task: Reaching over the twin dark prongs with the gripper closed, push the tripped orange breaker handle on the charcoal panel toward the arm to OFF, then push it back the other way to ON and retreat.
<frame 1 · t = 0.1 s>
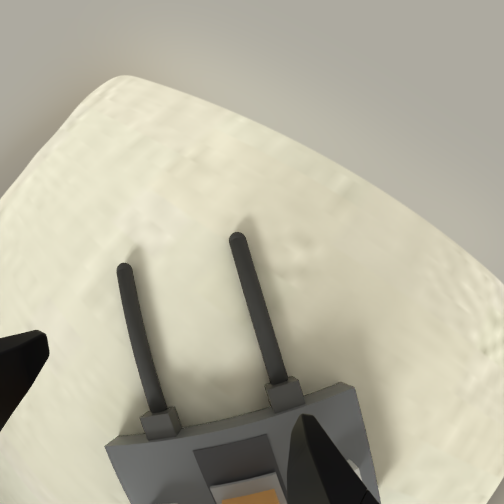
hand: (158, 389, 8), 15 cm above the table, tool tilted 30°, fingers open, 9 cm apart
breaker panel: (250, 484, 19), on the table
twin dark prongs: (201, 339, 23), on the table
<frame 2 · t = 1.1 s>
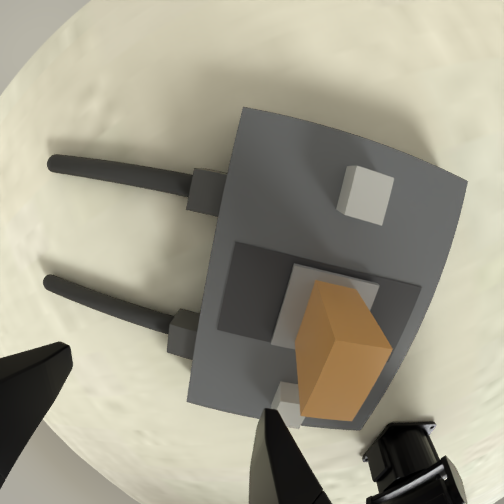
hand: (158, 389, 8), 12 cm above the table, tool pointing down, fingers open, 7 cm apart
breaker handle: (333, 343, 13), point 7 cm above the table, slide at 0.0 cm
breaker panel: (316, 291, 20), on the table
twin dark prongs: (123, 243, 20), on the table
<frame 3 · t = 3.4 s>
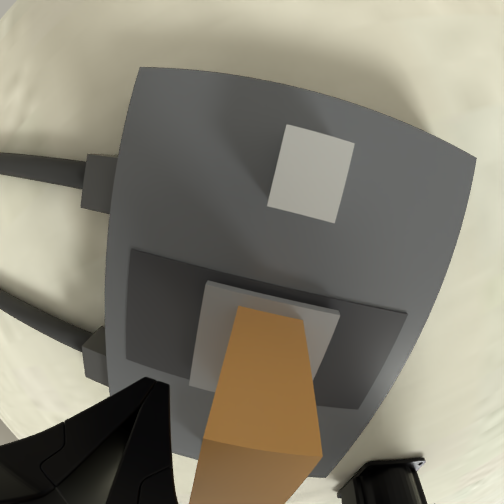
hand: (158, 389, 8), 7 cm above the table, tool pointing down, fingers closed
breaker handle: (253, 406, 8), point 7 cm above the table, slide at -0.1 cm, touching gripper
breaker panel: (261, 312, 15), on the table
twin dark prongs: (40, 248, 15), on the table
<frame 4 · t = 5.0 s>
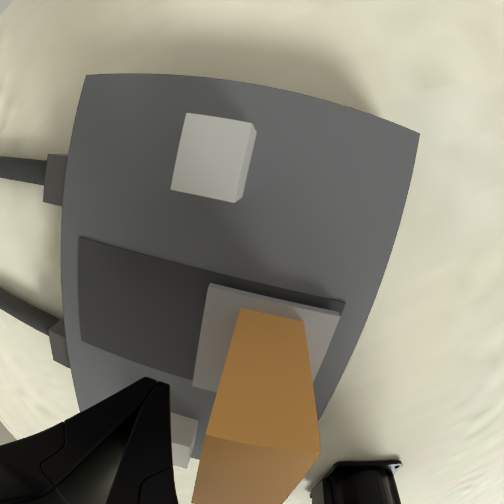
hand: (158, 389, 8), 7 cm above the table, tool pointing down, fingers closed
breaker handle: (254, 405, 8), point 7 cm above the table, slide at -3.0 cm
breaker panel: (206, 300, 15), on the table
twin dark prongs: (18, 241, 15), on the table
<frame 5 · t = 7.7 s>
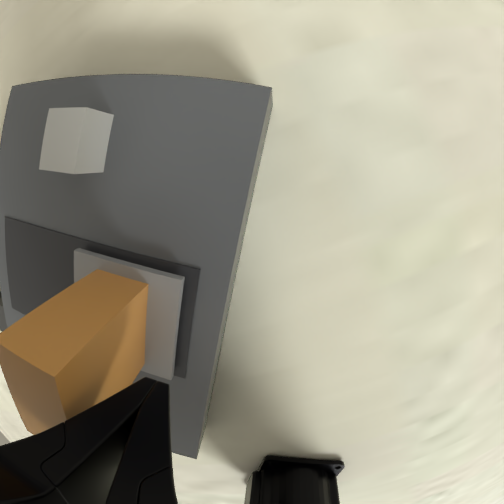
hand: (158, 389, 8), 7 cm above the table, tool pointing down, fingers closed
breaker handle: (87, 354, 9), point 7 cm above the table, slide at -2.8 cm, touching gripper
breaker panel: (108, 273, 15), on the table
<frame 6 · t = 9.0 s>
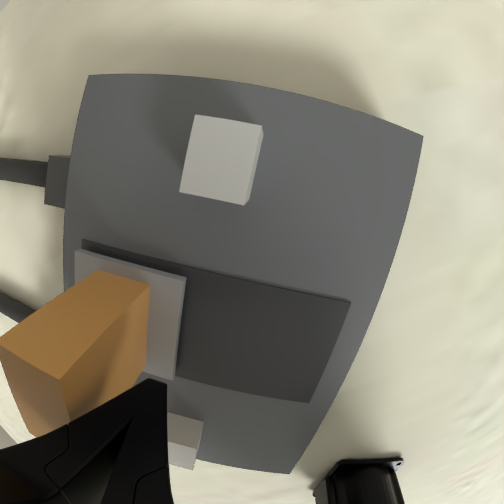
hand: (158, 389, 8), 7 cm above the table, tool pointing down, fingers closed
breaker handle: (89, 355, 9), point 7 cm above the table, slide at 3.2 cm, touching gripper
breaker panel: (210, 302, 15), on the table
twin dark prongs: (18, 243, 15), on the table
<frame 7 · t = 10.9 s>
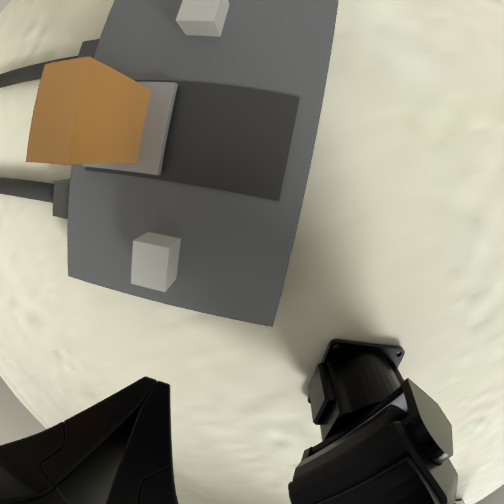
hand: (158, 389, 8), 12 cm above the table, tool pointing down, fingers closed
breaker handle: (96, 118, 11), point 7 cm above the table, slide at 3.0 cm
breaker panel: (194, 136, 17), on the table
twin dark prongs: (38, 128, 17), on the table
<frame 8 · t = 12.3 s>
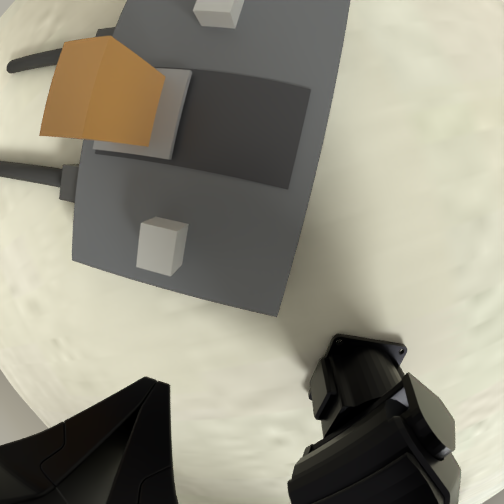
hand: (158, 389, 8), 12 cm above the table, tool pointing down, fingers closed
breaker handle: (111, 99, 11), point 7 cm above the table, slide at 3.0 cm
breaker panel: (205, 125, 17), on the table
twin dark prongs: (48, 114, 17), on the table
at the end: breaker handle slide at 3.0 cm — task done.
